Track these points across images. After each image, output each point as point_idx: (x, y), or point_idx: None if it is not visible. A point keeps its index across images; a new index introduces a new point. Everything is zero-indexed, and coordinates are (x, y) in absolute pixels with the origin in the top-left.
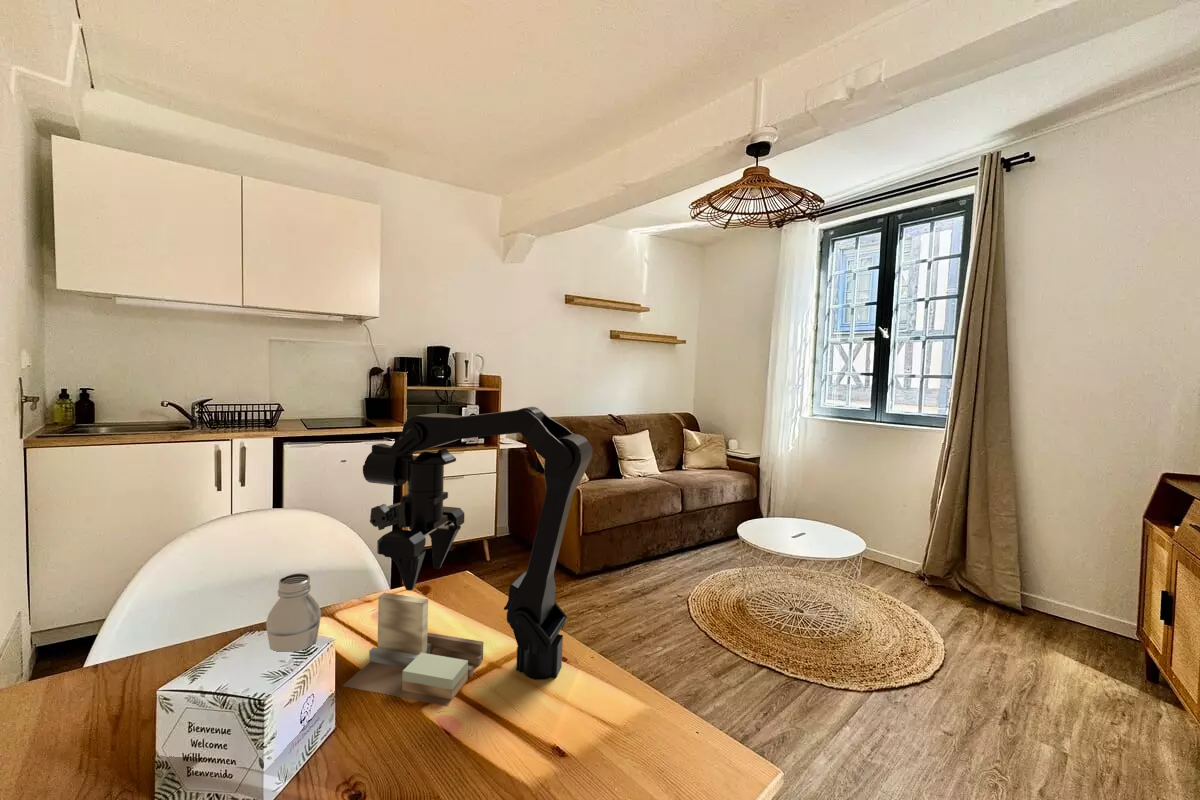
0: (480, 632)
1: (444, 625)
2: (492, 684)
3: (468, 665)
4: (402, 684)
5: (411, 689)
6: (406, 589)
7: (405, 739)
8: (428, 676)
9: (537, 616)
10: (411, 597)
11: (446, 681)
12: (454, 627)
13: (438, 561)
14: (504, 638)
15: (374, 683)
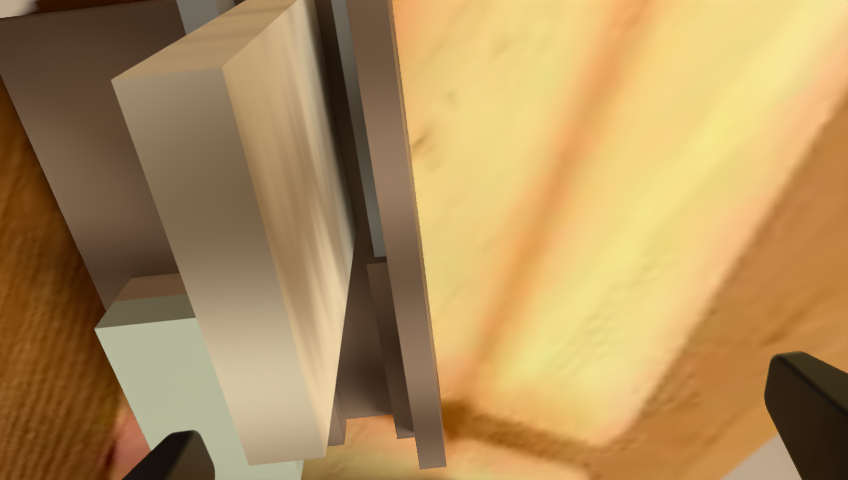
0: (663, 278)
1: (696, 89)
2: (356, 458)
3: (383, 388)
4: (122, 291)
5: None
6: (174, 434)
7: (11, 388)
8: (139, 421)
9: None
10: (282, 351)
11: None
12: (685, 149)
13: (812, 460)
14: (637, 375)
15: (89, 151)
